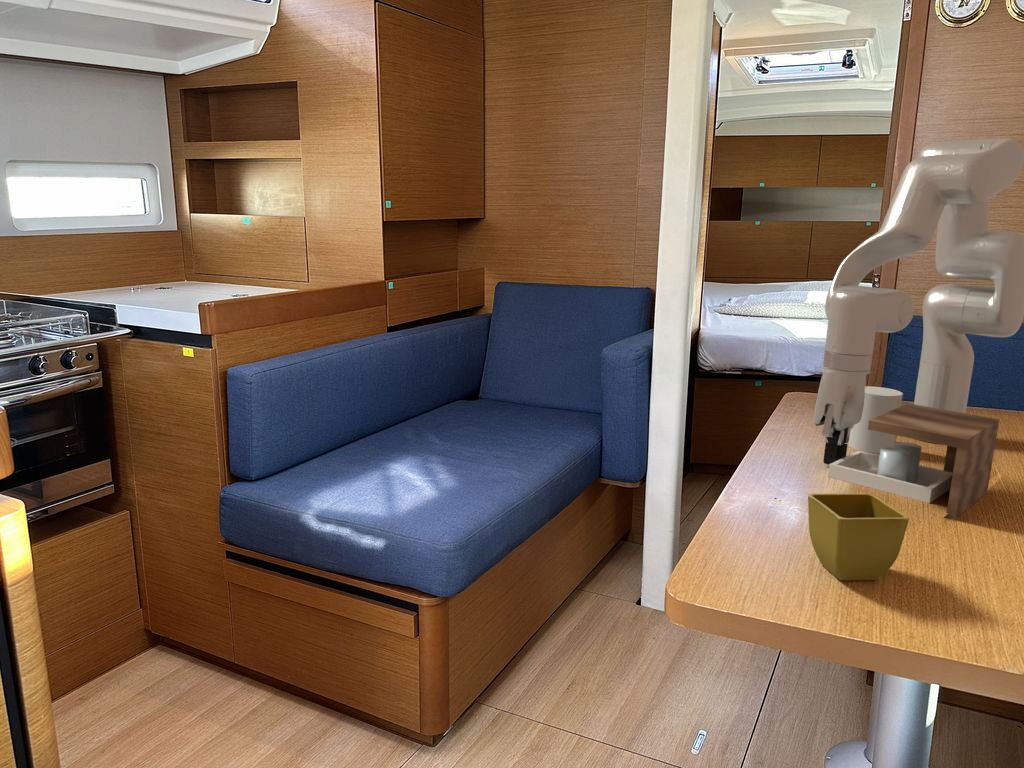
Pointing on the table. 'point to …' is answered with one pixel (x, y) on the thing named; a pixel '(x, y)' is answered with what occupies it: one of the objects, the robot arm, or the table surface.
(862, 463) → the tray
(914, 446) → the grey rounded cylinder
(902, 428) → the counter
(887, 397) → the white cylinder
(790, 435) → the table surface
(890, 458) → the blue-grey rounded cylinder
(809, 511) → the flower pot
